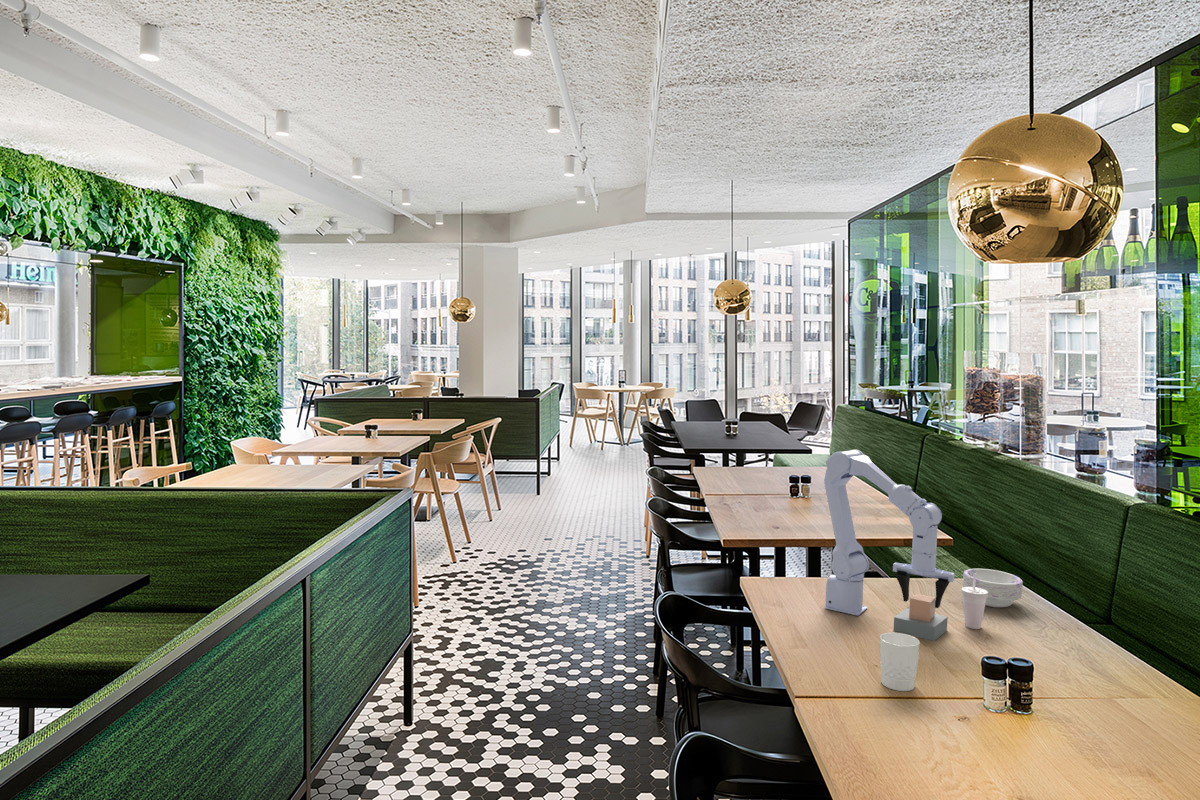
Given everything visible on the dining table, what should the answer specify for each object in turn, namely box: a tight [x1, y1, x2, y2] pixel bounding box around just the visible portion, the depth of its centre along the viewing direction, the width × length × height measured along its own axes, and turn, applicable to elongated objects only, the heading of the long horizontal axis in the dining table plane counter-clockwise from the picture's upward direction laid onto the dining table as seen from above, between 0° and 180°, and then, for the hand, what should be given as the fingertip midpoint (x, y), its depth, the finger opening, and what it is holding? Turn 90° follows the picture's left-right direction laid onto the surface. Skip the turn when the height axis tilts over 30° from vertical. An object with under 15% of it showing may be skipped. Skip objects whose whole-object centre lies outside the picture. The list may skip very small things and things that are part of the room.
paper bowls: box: [962, 568, 1024, 608], centre depth 219 cm, size 15×15×8 cm
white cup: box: [879, 632, 921, 692], centre depth 163 cm, size 8×8×10 cm
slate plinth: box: [893, 607, 949, 642], centre depth 196 cm, size 10×10×4 cm
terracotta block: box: [909, 593, 936, 622], centre depth 195 cm, size 5×5×5 cm
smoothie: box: [960, 573, 988, 630], centre depth 199 cm, size 6×6×14 cm
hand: (921, 603), depth 195 cm, fingers open, 7 cm apart
